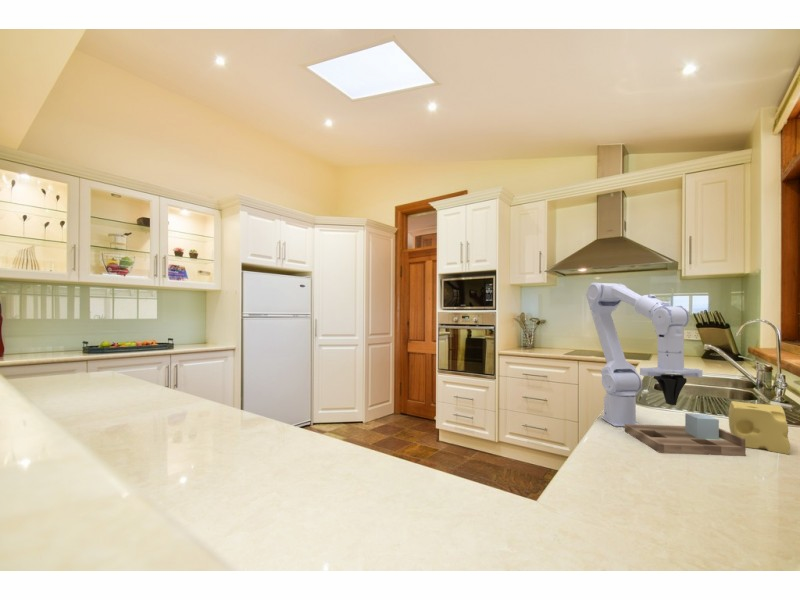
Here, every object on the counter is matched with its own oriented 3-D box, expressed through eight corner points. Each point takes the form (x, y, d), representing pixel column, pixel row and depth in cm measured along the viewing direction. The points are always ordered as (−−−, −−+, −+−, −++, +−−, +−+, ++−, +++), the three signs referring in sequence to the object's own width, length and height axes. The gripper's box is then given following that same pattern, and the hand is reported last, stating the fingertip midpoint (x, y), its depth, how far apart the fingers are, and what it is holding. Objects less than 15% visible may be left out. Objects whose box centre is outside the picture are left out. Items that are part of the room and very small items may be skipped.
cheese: (790, 455, 93) (789, 413, 94) (731, 445, 100) (730, 406, 100) (782, 443, 102) (781, 405, 102) (728, 435, 108) (728, 399, 108)
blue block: (685, 432, 104) (685, 413, 104) (705, 433, 103) (705, 414, 103) (697, 438, 99) (697, 418, 99) (718, 439, 98) (718, 419, 98)
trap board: (624, 431, 111) (624, 417, 111) (696, 433, 110) (696, 419, 110) (659, 452, 94) (659, 436, 94) (745, 455, 93) (745, 438, 93)
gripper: (650, 353, 99) (650, 407, 99) (710, 354, 98) (711, 408, 97) (635, 350, 106) (635, 400, 106) (691, 351, 105) (692, 402, 105)
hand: (671, 404), depth 102 cm, fingers closed
